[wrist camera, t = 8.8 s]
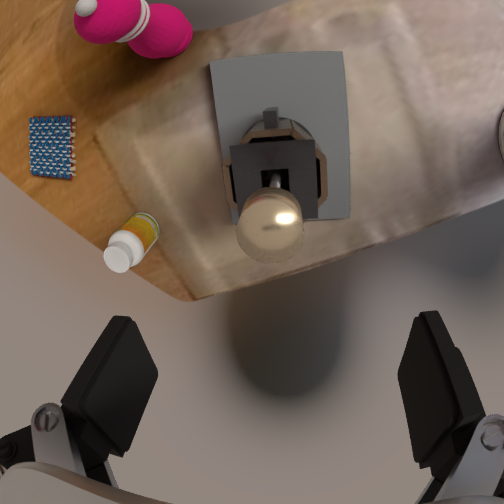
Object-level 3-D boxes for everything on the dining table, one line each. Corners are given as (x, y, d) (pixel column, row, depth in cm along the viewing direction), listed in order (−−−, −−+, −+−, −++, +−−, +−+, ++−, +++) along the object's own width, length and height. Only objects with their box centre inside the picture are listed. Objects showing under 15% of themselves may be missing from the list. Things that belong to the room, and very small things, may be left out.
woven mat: (36, 174, 43) (28, 177, 41) (34, 115, 37) (26, 117, 35) (78, 178, 42) (71, 182, 41) (79, 114, 37) (71, 115, 35)
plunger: (306, 127, 33) (333, 168, 15) (309, 185, 36) (332, 284, 18) (244, 131, 34) (196, 178, 16) (251, 189, 37) (217, 288, 19)
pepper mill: (170, 71, 33) (77, 64, 16) (134, 42, 31) (33, 25, 14) (208, 31, 30) (140, -15, 13) (170, 3, 28) (86, -46, 11)
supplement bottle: (134, 205, 43) (103, 234, 35) (165, 221, 44) (138, 254, 36) (125, 233, 46) (95, 265, 37) (153, 249, 47) (128, 284, 38)
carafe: (314, 104, 33) (328, 109, 23) (319, 190, 38) (332, 230, 28) (233, 110, 34) (210, 118, 24) (243, 194, 40) (227, 236, 29)
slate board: (340, 52, 30) (342, 51, 29) (348, 214, 41) (349, 218, 40) (211, 62, 33) (209, 61, 32) (233, 220, 43) (232, 224, 42)
